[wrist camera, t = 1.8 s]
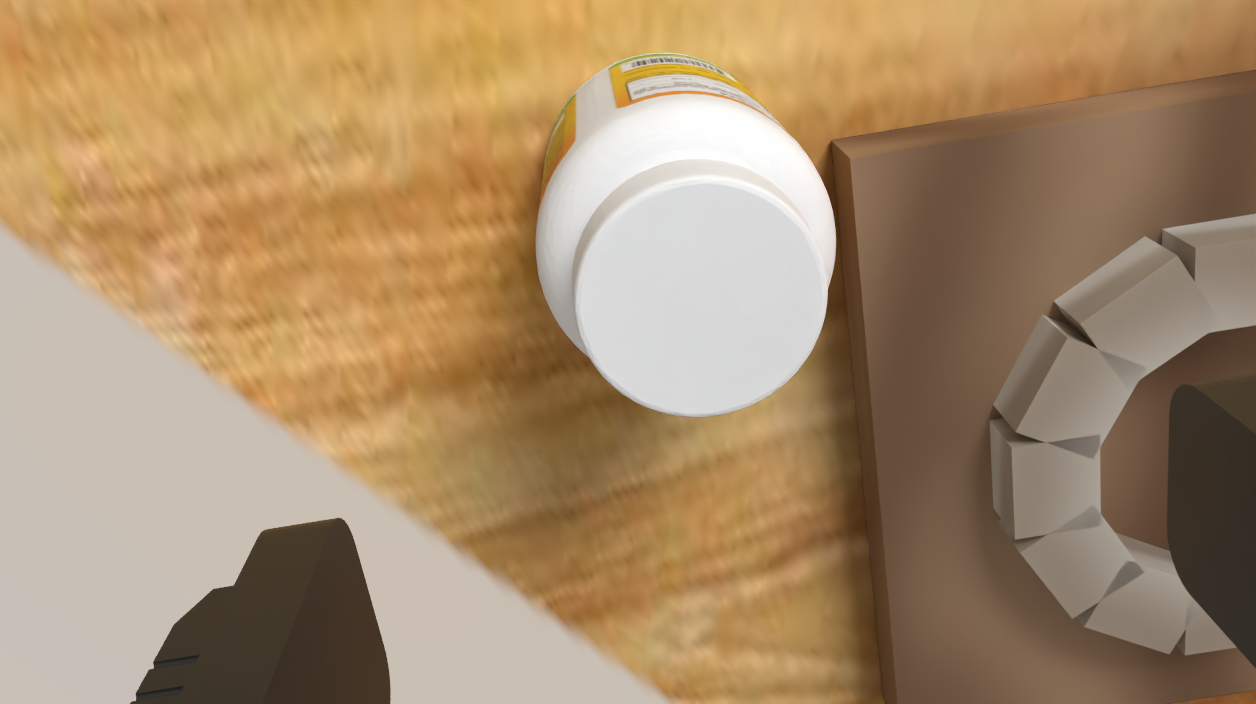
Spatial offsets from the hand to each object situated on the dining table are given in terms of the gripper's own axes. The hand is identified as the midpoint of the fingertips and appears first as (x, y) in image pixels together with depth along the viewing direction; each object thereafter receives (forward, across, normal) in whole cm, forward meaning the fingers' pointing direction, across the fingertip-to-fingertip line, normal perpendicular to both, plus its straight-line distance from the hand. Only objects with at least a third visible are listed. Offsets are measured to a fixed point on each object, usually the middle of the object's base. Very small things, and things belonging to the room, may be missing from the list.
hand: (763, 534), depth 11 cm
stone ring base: (+17, -12, +8) cm, 22 cm away
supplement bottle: (+17, 0, 0) cm, 17 cm away
